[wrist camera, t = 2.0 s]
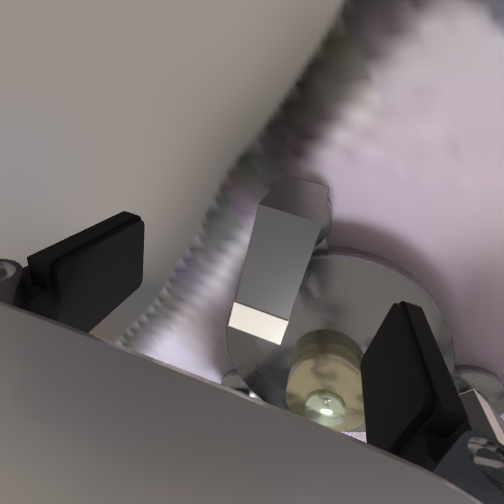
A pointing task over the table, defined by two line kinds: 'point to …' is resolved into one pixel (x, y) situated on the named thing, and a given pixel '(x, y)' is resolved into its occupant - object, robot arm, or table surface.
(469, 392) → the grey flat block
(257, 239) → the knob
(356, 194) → the table surface
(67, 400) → the robot arm
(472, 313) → the table surface
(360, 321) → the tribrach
